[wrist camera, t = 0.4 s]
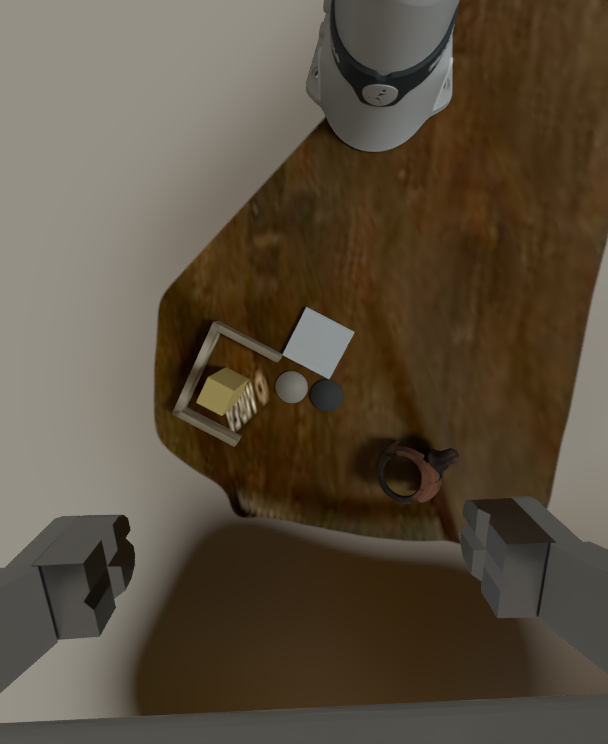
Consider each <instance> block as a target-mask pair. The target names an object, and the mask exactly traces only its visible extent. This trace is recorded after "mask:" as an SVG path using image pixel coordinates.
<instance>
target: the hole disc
mask: <svg viewBox="0 0 608 744" xmlns="http://www.w3.org/2000/svg"><path fill="white" fill-rule="evenodd" d="M342 400H343V391H342V388H341V387H340V385H339V384H338V383H336V382H335V381H332V380H321V381H319V382H317V383H316V384H315V385H314V386H313V388H312V390H311V401H312V403H313V404H314V406H315V407H316V408H318V409H319V410H322V411H333V410H335V409H337V408H338V407H339V406H340V405H341V403H342Z"/></svg>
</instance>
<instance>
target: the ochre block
mask: <svg viewBox="0 0 608 744" xmlns="http://www.w3.org/2000/svg"><path fill="white" fill-rule="evenodd" d="M248 380H249V379H248V378H246V377H244V376H242V375H240V374H238V373H236V372H234V371H232V370H231V369H229V368H227V367H226V368H224V369H222V370H220V371H218V372H216V373H215V374H213V375H211V376H209V377H208V378H207V380H206V383H205V385H204V387H203V389H202V391H201V393H200V396H199V398H198V400H197V402H196V403H198V404H200V405H202V406H204V407H206V408H208V409H210V410H212V411H214V412H216V413H217V414H219V415H221V416H223V415H224V414H225V413H226V412H227V411H228V410H229V409H230V408H231V407H232V406H233V405H234V404H235V403H236V402H237V401H238V400H239V398H240V396H241V394H242V392H243V390H244V388H245V386H246V384H247V382H248Z"/></svg>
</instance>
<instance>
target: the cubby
mask: <svg viewBox="0 0 608 744" xmlns="http://www.w3.org/2000/svg"><path fill="white" fill-rule="evenodd" d="M220 333H221V334H223V335H225V336H227V337H229V338H231V339H233V340H235V341H237V342H239V343H241V344H243V345H244V346H246V347H248V348H250V349H252V350H254V351H256V352H258V353H260V354H262V355H264V356H265V357H267V358H269V359H271V360H273V361H275V362H278V361H279V360H280V359H281V357H282V354H281V353H279V352H277V351H275V350H273V349H272V348H270V347H268V346H266V345H264V344H262V343H260V342H258V341H256V340H254V339H252V338H251V337H249V336H247V335H245V334H243V333H241V332H239V331H237V330H235V329H233V328H231V327H229V326H228V325H226V324H224V323H222V322H220V321H215V322H213V324H212V326H211V328H210V330H209V332H208V335H207V337H206V339H205V341H204V344H203V346H202V348H201V350H200V352H199V355H198V357H197V359H196V361H195V364H194V366H193V368H192V370H191V373H190V375H189V377H188V379H187V381H186V384H185V386H184V388H183V390H182V393H181V395H180V397H179V399H178V401H177V404H176V406H175V408H174V410H173V413H172V414H173V415H175V416H176V417H178V418H180V419H182V420H184V421H186V422H188V423H190V424H192V425H194V426H196V427H198V428H199V429H201V430H203V431H205V432H207V433H209V434H211V435H213V436H215V437H217V438H219V439H221V440H222V441H224V442H226V443H228V444H230V445H232V446H234V447H235V446H236V444H237V443H238V442H239V440H240V438H241V435H239V434H237V433H235V432H233V431H231V430H230V429H228V428H226V427H224V426H222V425H220V424H218V423H216V422H214V421H212V420H210V419H209V418H207V417H205V416H203V415H201V414H199V413H197V412H195V411H193V410H191V409H189V408H187V405H188V403H189V401H190V399H191V397H192V394H193V392H194V390H195V388H196V386H197V383H198V381H199V379H200V377H201V375H202V373H203V370H204V368H205V366H206V364H207V362H208V359H209V357H210V355H211V353H212V351H213V348H214V346H215V344H216V342H217V340H218V338H219V335H220Z"/></svg>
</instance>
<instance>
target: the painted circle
mask: <svg viewBox="0 0 608 744" xmlns="http://www.w3.org/2000/svg"><path fill="white" fill-rule="evenodd" d="M275 388H276V392H277V395H278V396H279V397H280V398H281V399H282V400H283V401H285V402H288V403H296V402H299V401H300V400H302V399H303V398H304V397H305V395H306V393H307V389H308V386H307V382H306V380H305V378H304V377H303V376H302V375H301V374H299V373H297V372H294V371H289V372H285V373H283V374H282V375H280V376H279V378H278V379H277V381H276V386H275Z"/></svg>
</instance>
